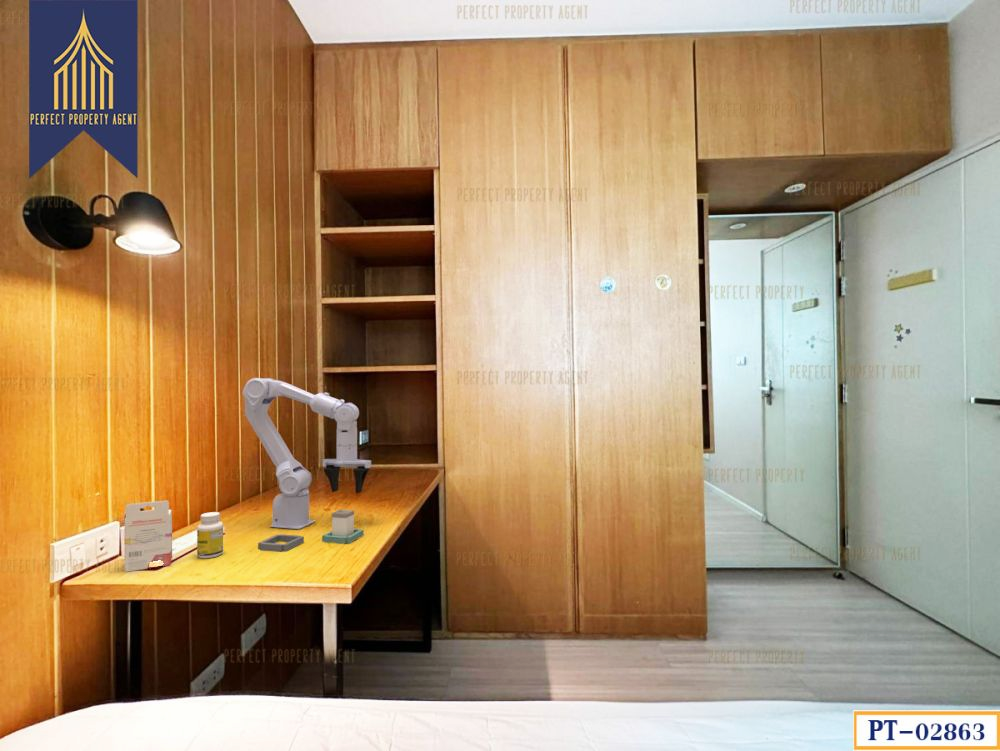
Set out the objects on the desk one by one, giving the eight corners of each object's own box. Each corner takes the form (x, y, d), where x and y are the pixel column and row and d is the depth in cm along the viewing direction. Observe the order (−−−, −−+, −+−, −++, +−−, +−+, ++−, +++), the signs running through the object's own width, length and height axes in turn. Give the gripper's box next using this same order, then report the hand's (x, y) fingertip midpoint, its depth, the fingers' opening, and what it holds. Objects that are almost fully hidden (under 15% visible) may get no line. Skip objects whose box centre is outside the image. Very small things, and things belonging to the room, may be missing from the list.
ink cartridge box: (172, 559, 119) (173, 495, 119) (170, 566, 114) (170, 500, 114) (127, 565, 115) (128, 499, 115) (123, 572, 110) (123, 504, 110)
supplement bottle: (192, 556, 121) (192, 514, 121) (216, 549, 125) (216, 510, 125) (204, 560, 118) (204, 518, 118) (227, 554, 122) (227, 513, 122)
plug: (331, 540, 133) (331, 513, 133) (340, 535, 137) (340, 509, 137) (345, 541, 132) (345, 514, 132) (354, 536, 136) (354, 510, 136)
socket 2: (320, 541, 131) (320, 536, 131) (337, 532, 139) (337, 527, 139) (348, 544, 129) (348, 538, 129) (364, 534, 137) (364, 529, 137)
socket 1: (256, 549, 125) (256, 543, 125) (278, 539, 133) (278, 533, 133) (284, 551, 123) (284, 545, 123) (304, 541, 131) (305, 536, 131)
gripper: (316, 445, 145) (316, 493, 145) (362, 447, 142) (362, 496, 142) (330, 443, 152) (330, 488, 152) (374, 444, 149) (374, 490, 149)
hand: (346, 491), depth 147 cm, fingers open, 7 cm apart
